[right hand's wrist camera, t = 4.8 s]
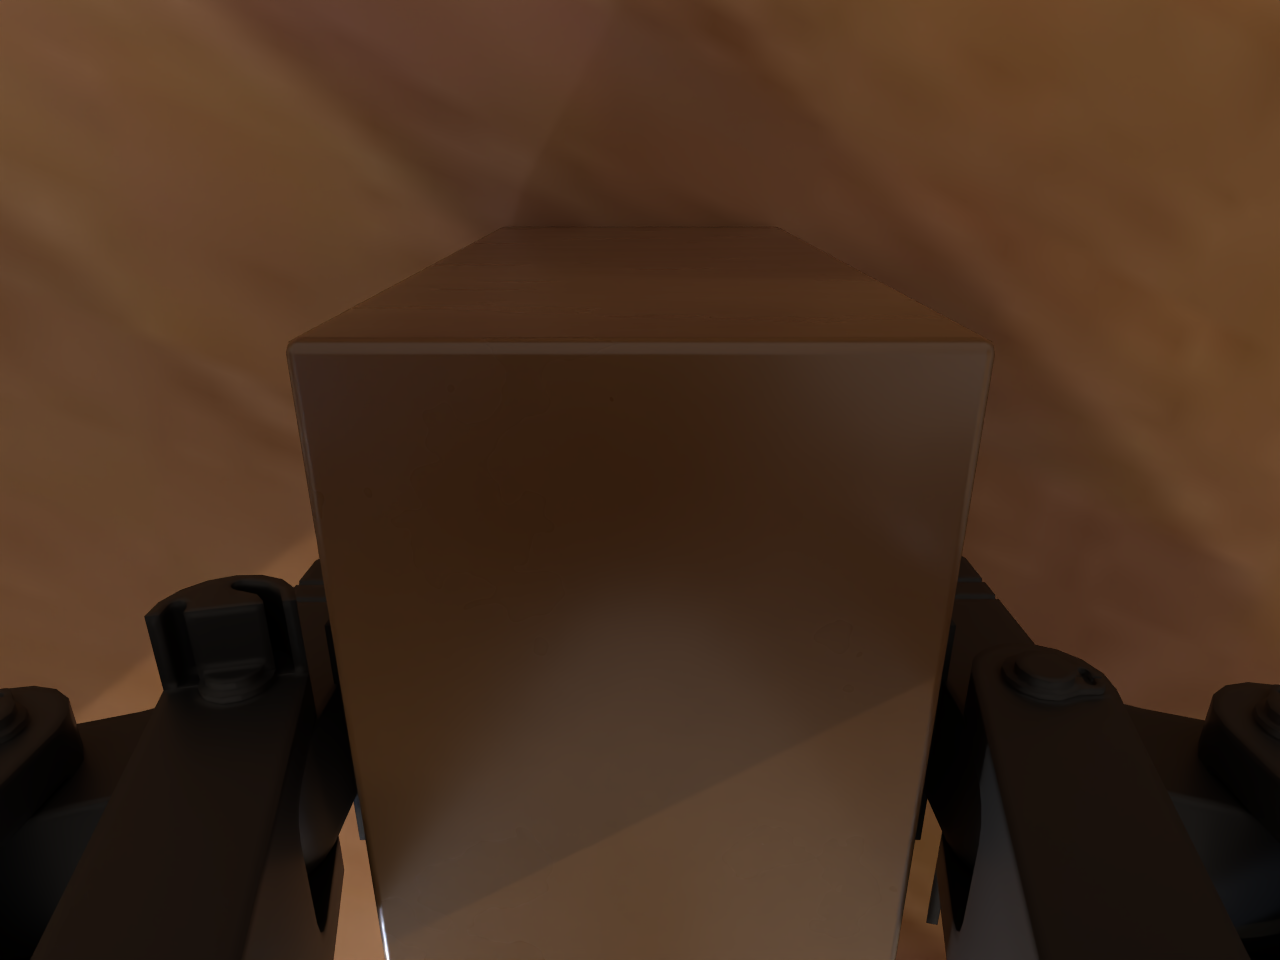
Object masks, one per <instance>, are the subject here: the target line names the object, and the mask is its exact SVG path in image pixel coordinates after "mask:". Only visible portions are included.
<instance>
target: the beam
mask: <svg viewBox="0 0 1280 960" xmlns="http://www.w3.org/2000/svg"><path fill="white" fill-rule="evenodd" d="M994 355H995V351H994V347H993V343H992V341H990V340H988V339H986V338H984V337H982V336H980V335H979V334H977V333H975V332H973V331H971V330H969V329H967V328H966V327H964V326H962V325H960V324H958V323H956V322H954V321H952V320H951V319H949V318H947V317H945V316H943V315H941V314H939V313H937V312H936V311H934V310H932V309H930V308H928V307H926V306H924V305H922V304H921V303H919V302H917V301H915V300H913V299H911V298H909V297H907V296H906V295H904V294H902V293H900V292H898V291H896V290H894V289H892V288H891V287H889V286H887V285H885V284H883V283H881V282H879V281H877V280H876V279H874V278H872V277H870V276H868V275H866V274H864V273H862V272H861V271H859V270H857V269H855V268H853V267H851V266H849V265H847V264H846V263H844V262H842V261H840V260H838V259H836V258H834V257H833V256H831V255H829V254H827V253H825V252H823V251H821V250H819V249H818V248H816V247H814V246H812V245H810V244H808V243H806V242H804V241H803V240H801V239H799V238H797V237H795V236H793V235H791V234H789V233H788V232H786V231H784V230H782V229H780V228H778V227H503V228H501V229H498V230H497V231H495V232H493V233H491V234H489V235H487V236H485V237H484V238H482V239H480V240H478V241H476V242H474V243H472V244H470V245H469V246H467V247H465V248H463V249H461V250H459V251H457V252H455V253H454V254H452V255H450V256H448V257H446V258H444V259H442V260H440V261H439V262H437V263H435V264H433V265H431V266H429V267H427V268H426V269H424V270H422V271H420V272H418V273H416V274H414V275H412V276H411V277H409V278H407V279H405V280H403V281H401V282H399V283H397V284H396V285H394V286H392V287H390V288H388V289H386V290H384V291H383V292H381V293H379V294H377V295H375V296H373V297H371V298H369V299H368V300H366V301H364V302H362V303H360V304H358V305H356V306H354V307H353V308H351V309H349V310H347V311H345V312H343V313H341V314H339V315H338V316H336V317H334V318H332V319H330V320H328V321H326V322H325V323H323V324H321V325H319V326H317V327H315V328H313V329H311V330H310V331H308V332H306V333H304V334H302V335H300V336H298V337H296V338H295V339H293V340H291V341H289V343H288V346H287V351H286V356H287V362H288V368H289V374H290V380H291V386H292V392H293V399H294V405H295V411H296V417H297V423H298V429H299V435H300V441H301V448H302V454H303V460H304V466H305V472H306V478H307V484H308V490H309V496H310V503H311V509H312V515H313V521H314V527H315V533H316V539H317V545H318V552H319V558H320V564H321V570H322V576H323V582H324V588H325V594H326V601H327V607H328V613H329V619H330V625H331V631H332V637H333V643H334V649H335V656H336V662H337V668H338V674H339V680H340V686H341V692H342V698H343V705H344V711H345V717H346V723H347V729H348V735H349V741H350V747H351V753H352V760H353V766H354V772H355V778H356V784H357V790H358V796H359V802H360V809H361V815H362V821H363V827H364V833H365V839H366V845H367V851H368V858H369V864H370V870H371V876H372V882H373V888H374V894H375V900H376V906H377V913H378V919H379V925H380V931H381V937H382V943H383V949H384V955H385V960H895V959H896V953H897V947H898V940H899V934H900V928H901V922H902V916H903V910H904V904H905V898H906V892H907V886H908V879H909V873H910V867H911V861H912V855H913V849H914V843H915V837H916V831H917V825H918V818H919V812H920V806H921V800H922V794H923V788H924V782H925V776H926V770H927V764H928V757H929V751H930V745H931V739H932V733H933V727H934V721H935V715H936V709H937V703H938V696H939V690H940V684H941V678H942V672H943V666H944V660H945V654H946V648H947V642H948V636H949V629H950V623H951V617H952V611H953V605H954V599H955V593H956V587H957V581H958V575H959V568H960V562H961V556H962V550H963V544H964V538H965V532H966V526H967V520H968V514H969V507H970V501H971V495H972V489H973V483H974V477H975V471H976V465H977V459H978V453H979V446H980V440H981V434H982V428H983V422H984V416H985V410H986V404H987V398H988V392H989V385H990V379H991V373H992V367H993V361H994Z"/></svg>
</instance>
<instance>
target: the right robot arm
mask: <svg viewBox="0 0 1280 960" xmlns="http://www.w3.org/2000/svg"><path fill="white" fill-rule="evenodd" d="M144 617H145V621H146V625H147V629H148V633H149V636H150V640H151V644H152V648H153V652H154V656H155V659H156V663H157V667H158V671H159V675H160V679H161V682H162V686H163V690H164V691H163V693H162V695H161V697H160V699H159V701H158V703H157V705H156V707H155V708H154V709H150V710H146V711H142V712H137V713H132V714H127V715H122V716H117V717H111V718H106V719H101V720H96V721H91V722H85V723H80V724H76V720H75V717H74V714H73V711H72V708H71V705H70V701H69V698H67V697H66V696H65V695H63V694H62V693H61V692H59V691H58V690H57V689H52V688H45V687H38V686H29V687H19V688H9V689H8V688H4V689H0V960H333V959H334V951H335V943H336V934H337V926H338V917H339V909H340V901H341V892H342V884H343V876H344V865H343V859H342V852H341V847H340V841H339V836H338V835H339V833H340V831H341V828H342V826H343V824H344V822H345V819H346V817H347V815H348V813H349V810H350V808H351V806H352V803H353V801H354V806H355V812H356V818H357V824H358V830H359V836H360V840H366V839H365V833H364V827H363V821H362V815H361V809H360V802H359V796H358V790H357V784H356V778H355V772H354V766H353V760H352V753H351V747H350V741H349V735H348V729H347V723H346V717H345V711H344V705H343V698H342V692H341V686H340V680H339V674H338V668H337V662H336V656H335V649H334V643H333V637H332V631H331V625H330V619H329V613H328V607H327V601H326V594H325V588H324V582H323V576H322V570H321V564H320V559H318V560H316V561H315V562H314V563H313V565H312V566H311V567H310V568H309V570H308V571H307V572H306V573H305V575H304V576H303V577H302V578H301V580H300V581H299V585H296V586H295V587H292V586H291V585H290V584H288V583H287V582H285V581H284V580H283V579H279V578H274V577H269V576H265V575H236V576H230V577H225V578H220V579H214V580H209V581H205V582H203V583H200V584H197V585H194V586H191V587H188V588H185V589H182V590H180V591H178V592H176V593H175V594H173V595H171V596H169V597H167V598H166V599H164V600H162V601H160V602H158V603H157V604H156V605H155V606H154V607H153V608H152V609H151V610H150V611H149V612H148V613H147V614H146V615H145V616H144ZM927 798H928V800H929V803H930V805H931V807H932V809H933V812H934V814H935V816H936V818H937V821H938V823H939V825H940V827H941V830H942V836H941V841H940V847H939V852H938V858H937V864H936V869H935V875H934V880H933V886H932V891H931V897H930V903H929V909H928V915H927V922H926V923H930V924H936V925H937V924H938V919H939V914H940V909H941V915H942V924H943V932H944V941H945V949H946V957H947V960H1280V685H1270V684H1260V683H1250V682H1246V683H1239V684H1232V685H1226V686H1224V687H1223V688H1221V689H1220V690H1219V691H1217V692H1216V693H1215V694H1213V697H1212V700H1211V703H1210V707H1209V710H1208V713H1207V716H1206V719H1205V721H1204V720H1199V719H1194V718H1188V717H1183V716H1178V715H1173V714H1167V713H1162V712H1157V711H1152V710H1146V709H1141V708H1137V707H1133V706H1129V705H1125V704H1123V702H1122V700H1121V698H1120V695H1119V693H1118V691H1117V690H1116V688H1115V687H1114V686H1113V685H1112V683H1111V682H1110V681H1109V680H1108V679H1107V677H1106V676H1105V675H1104V674H1103V673H1101V672H1100V671H1098V670H1097V669H1095V668H1094V667H1092V666H1091V665H1089V664H1088V663H1086V662H1085V661H1083V660H1081V659H1079V658H1076V657H1074V656H1072V655H1069V654H1067V653H1064V652H1062V651H1059V650H1057V649H1052V648H1047V647H1043V646H1038V645H1035V644H1034V643H1033V642H1032V640H1031V639H1030V638H1029V637H1028V635H1027V634H1026V633H1025V632H1024V630H1023V629H1022V628H1021V627H1020V625H1019V624H1018V623H1017V622H1016V620H1015V619H1014V618H1013V617H1012V615H1011V614H1010V613H1009V612H1008V610H1007V609H1006V608H1005V607H1004V605H1003V604H1002V603H1001V602H1000V600H999V599H995V594H994V593H993V592H992V590H991V589H990V588H989V587H988V586H987V584H986V583H985V582H982V578H981V577H980V576H979V574H978V573H977V572H976V571H975V569H974V568H973V567H972V566H971V564H970V563H969V562H968V561H967V559H966V558H964V557H963V556H961V562H960V568H959V575H958V581H957V587H956V593H955V599H954V605H953V611H952V617H951V623H950V629H949V636H948V642H947V648H946V654H945V660H944V666H943V672H942V678H941V684H940V690H939V696H938V703H937V709H936V715H935V721H934V727H933V733H932V739H931V745H930V751H929V757H928V764H927V770H926V776H925V782H924V788H923V794H922V800H921V806H920V812H919V818H918V825H917V831H916V837H915V840H920V839H921V833H922V827H923V821H924V815H925V809H926V803H927Z"/></svg>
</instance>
